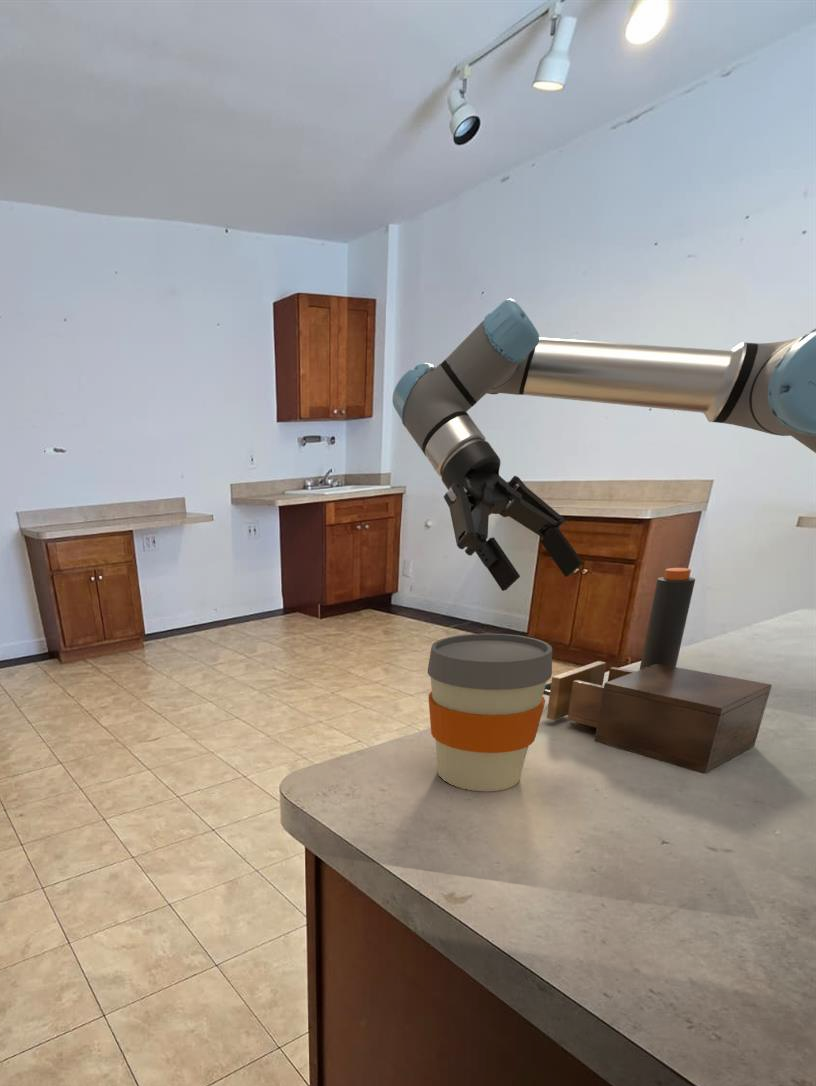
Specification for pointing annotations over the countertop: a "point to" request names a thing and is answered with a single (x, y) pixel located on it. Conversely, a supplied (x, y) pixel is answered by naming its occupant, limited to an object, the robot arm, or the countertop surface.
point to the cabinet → (682, 715)
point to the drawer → (579, 693)
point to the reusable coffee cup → (486, 706)
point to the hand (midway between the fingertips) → (544, 576)
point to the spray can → (668, 618)
